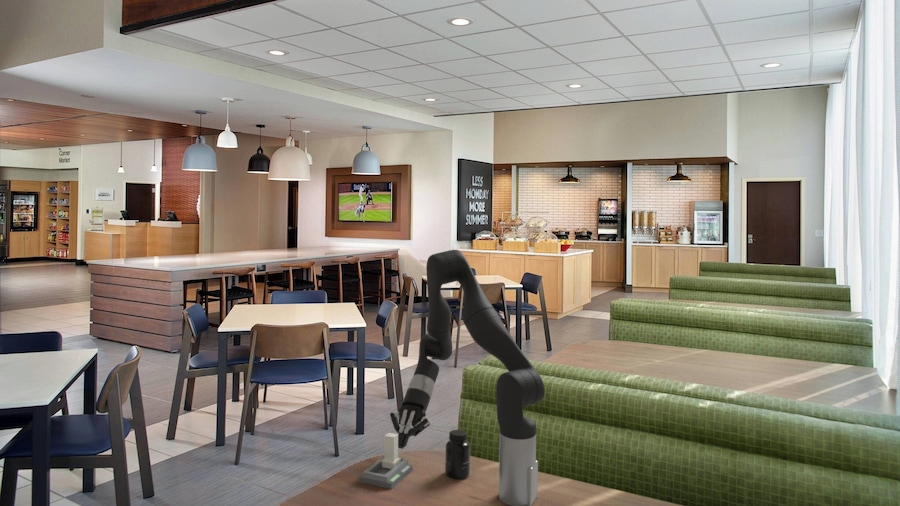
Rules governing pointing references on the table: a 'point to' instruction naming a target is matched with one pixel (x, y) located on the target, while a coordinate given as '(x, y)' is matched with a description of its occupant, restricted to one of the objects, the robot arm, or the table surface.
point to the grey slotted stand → (385, 474)
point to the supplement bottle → (457, 455)
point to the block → (390, 451)
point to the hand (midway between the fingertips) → (399, 447)
